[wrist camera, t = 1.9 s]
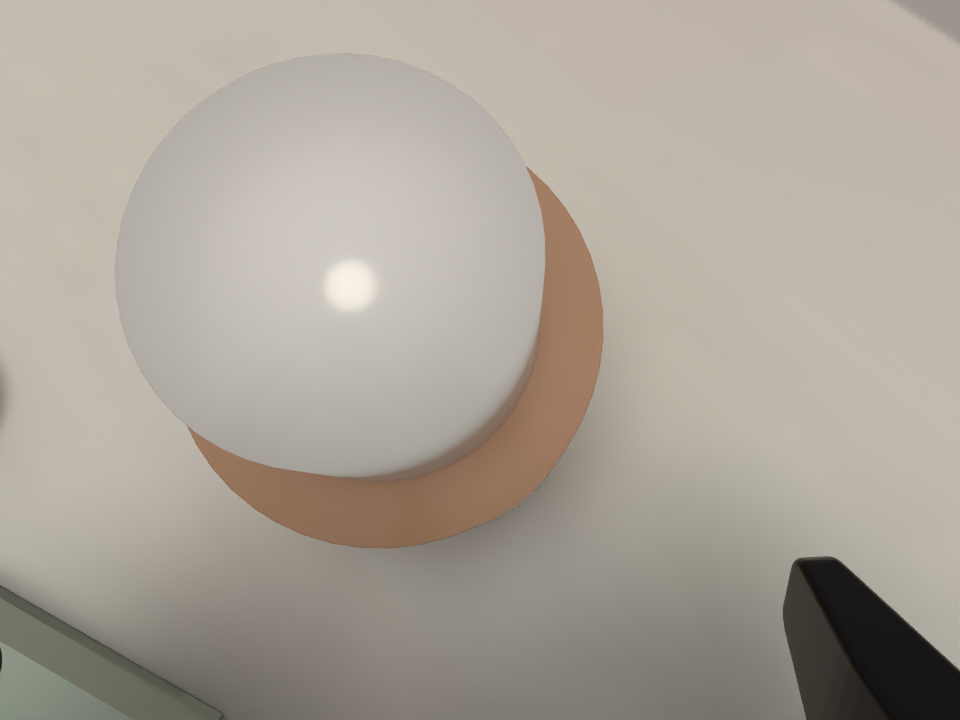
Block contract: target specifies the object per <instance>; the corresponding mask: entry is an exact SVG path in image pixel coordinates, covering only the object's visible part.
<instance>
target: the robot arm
mask: <svg viewBox="0 0 960 720" xmlns="http://www.w3.org/2000/svg"><path fill="white" fill-rule="evenodd" d="M783 621H784V628H785V632H786V636H787V641H788V645H789V649H790V653H791V657H792V661H793V665H794V670H795V674H796V678H797V682H798V686H799V690H800V694H801V699H802V703H803V707H804V711H805V715H806V719H807V720H960V670H959V669H958V668H957V667H955V666H954V665H953V664H952V663H951V662H950V661H949V660H948V659H947V658H946V657H945V656H943V655H942V654H941V653H940V652H939V651H938V650H937V649H936V648H935V647H934V646H933V645H931V644H930V643H929V642H928V641H927V640H926V639H925V638H924V637H923V636H922V635H921V634H919V633H918V632H917V631H916V630H915V629H914V628H913V627H912V626H911V625H910V624H909V623H907V622H906V621H905V620H904V619H903V618H902V617H901V616H900V615H899V614H898V613H897V612H895V611H894V610H893V609H892V608H891V607H890V606H889V605H888V604H887V603H886V602H885V601H883V600H882V599H881V598H880V597H879V596H878V595H877V594H876V593H875V592H874V591H873V590H871V589H870V588H869V587H868V586H867V585H866V584H865V583H864V582H863V581H862V580H861V579H859V578H858V577H857V576H856V575H855V574H854V573H853V572H852V571H851V570H850V569H848V568H847V567H846V566H845V565H844V564H843V563H842V562H841V561H839V560H838V559H836V558H833V557H828V556H824V557H805V558H798V559H797V560H795V561H794V563H793V565H792V567H791V572H790V577H789V581H788V586H787V591H786V596H785V600H784V605H783ZM1 668H2V651H1V647H0V672H1Z"/></svg>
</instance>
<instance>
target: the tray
mask: <svg viewBox="0 0 960 720" xmlns="http://www.w3.org/2000/svg"><path fill="white" fill-rule="evenodd" d="M0 647H1V651H2V668H1V672H0V720H220V718H221V716H222V713H220V712H218V711H216V710H215V709H213V708H211V707H209V706H208V705H206V704H204V703H203V702H201V701H199V700H197V699H196V698H194V697H192V696H190V695H189V694H187V693H185V692H183V691H182V690H180V689H178V688H177V687H175V686H173V685H171V684H170V683H168V682H166V681H164V680H163V679H161V678H159V677H157V676H156V675H154V674H152V673H150V672H149V671H147V670H145V669H144V668H142V667H140V666H138V665H137V664H135V663H133V662H131V661H130V660H128V659H126V658H124V657H123V656H121V655H119V654H117V653H116V652H114V651H112V650H111V649H109V648H107V647H105V646H104V645H102V644H100V643H98V642H97V641H95V640H93V639H91V638H90V637H88V636H86V635H85V634H83V633H81V632H79V631H78V630H76V629H74V628H72V627H71V626H69V625H67V624H65V623H64V622H62V621H60V620H58V619H57V618H55V617H53V616H52V615H50V614H48V613H46V612H45V611H43V610H41V609H39V608H38V607H36V606H34V605H32V604H31V603H29V602H27V601H25V600H24V599H22V598H20V597H19V596H17V595H15V594H13V593H12V592H10V591H8V590H6V589H5V588H3V587H1V586H0Z"/></svg>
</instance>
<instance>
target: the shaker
mask: <svg viewBox="0 0 960 720" xmlns="http://www.w3.org/2000/svg"><path fill="white" fill-rule="evenodd" d="M115 281H116V297H117V303H118V309H119V314H120V320H121V324H122V327H123V330H124V333H125V336H126V339H127V342H128V345H129V348H130V350H131V352H132V354H133V356H134V358H135V360H136V362H137V364H138V367H139V369H140V371H141V373H142V374H143V375H144V377H145V378H146V380H147V381H148V383H149V384H150V386H151V387H152V389H153V390H154V392H155V393H156V395H157V396H158V397H159V398H160V399H161V400H162V401H163V403H164V404H165V405H166V406H167V407H168V408H169V409H170V410H171V411H172V412H173V414H174V415H175V416H176V417H178V418H179V419H180V420H181V421H182V422H184V423H185V424H186V425H187V426H188V429H189V431H190V433H191V435H192V437H193V439H194V441H195V443H196V445H197V446H198V448H199V449H200V451H201V452H202V454H203V455H204V457H205V458H206V460H207V461H208V463H209V464H210V466H211V467H212V469H213V470H214V471H215V472H216V473H217V474H218V475H219V476H220V477H221V479H222V480H223V481H224V482H225V483H226V484H227V485H228V486H229V487H230V489H231V490H233V491H234V492H235V493H236V494H237V495H238V496H240V497H241V498H242V499H243V500H244V501H246V502H247V503H248V504H249V505H250V506H252V507H253V508H254V509H256V510H257V511H259V512H261V513H262V514H264V515H265V516H267V517H269V518H270V519H272V520H273V521H275V522H276V523H278V524H280V525H283V526H285V527H287V528H289V529H292V530H294V531H296V532H298V533H300V534H303V535H305V536H309V537H312V538H316V539H319V540H322V541H326V542H329V543H333V544H340V545H346V546H353V547H360V548H396V547H404V546H413V545H421V544H425V543H428V542H432V541H436V540H440V539H444V538H448V537H451V536H453V535H456V534H458V533H461V532H463V531H466V530H468V529H471V528H473V527H476V526H478V525H481V524H483V523H486V522H488V521H491V520H493V519H495V518H498V517H500V516H502V515H504V514H506V513H507V512H509V511H511V510H513V509H514V508H516V507H517V506H518V505H520V504H521V503H522V502H523V501H525V500H526V499H527V498H528V497H529V496H530V495H531V494H532V493H533V492H534V491H535V490H536V489H537V488H538V487H539V486H540V484H541V483H542V482H543V480H544V479H545V478H546V476H547V475H548V474H549V472H550V471H551V469H552V468H553V466H554V465H555V464H556V462H557V461H558V459H559V458H560V456H561V455H562V454H563V452H564V451H565V449H566V448H567V446H568V445H569V443H570V441H571V439H572V438H573V436H574V434H575V432H576V431H577V429H578V427H579V425H580V424H581V422H582V419H583V417H584V414H585V412H586V410H587V407H588V405H589V402H590V400H591V397H592V395H593V391H594V387H595V383H596V379H597V375H598V372H599V368H600V361H601V352H602V344H603V309H602V302H601V295H600V289H599V282H598V279H597V275H596V272H595V269H594V265H593V262H592V259H591V255H590V253H589V251H588V248H587V246H586V244H585V242H584V240H583V237H582V235H581V233H580V231H579V229H578V227H577V226H576V224H575V223H574V221H573V219H572V218H571V216H570V214H569V213H568V211H567V210H566V208H565V207H564V205H563V204H562V203H561V202H560V200H559V199H558V198H557V197H556V196H555V194H554V193H553V192H552V191H551V190H550V188H549V187H548V186H547V185H546V184H545V183H544V182H543V181H542V180H541V179H539V178H538V177H537V176H536V175H535V174H534V173H533V172H532V171H531V170H530V169H529V168H528V167H526V166H525V164H524V161H523V159H522V158H521V156H520V154H519V153H518V151H517V150H516V148H515V146H514V145H513V143H512V141H511V140H510V138H509V137H508V136H507V134H506V133H505V132H504V131H503V129H502V128H501V127H500V126H499V125H498V123H497V122H496V121H495V120H494V119H493V117H492V116H491V115H490V114H489V113H487V112H486V111H485V110H484V109H483V108H482V107H481V106H480V105H479V104H478V103H477V102H476V101H474V100H473V99H472V98H471V97H469V96H468V95H467V94H465V93H464V92H462V91H461V90H459V89H458V88H457V87H455V86H454V85H452V84H451V83H449V82H447V81H445V80H443V79H441V78H439V77H437V76H436V75H434V74H432V73H430V72H428V71H425V70H423V69H420V68H417V67H415V66H412V65H409V64H406V63H404V62H400V61H396V60H391V59H387V58H383V57H378V56H371V55H361V54H351V53H343V54H319V55H312V56H305V57H298V58H293V59H290V60H286V61H282V62H278V63H275V64H271V65H268V66H266V67H263V68H261V69H258V70H256V71H253V72H251V73H248V74H246V75H243V76H242V77H240V78H238V79H236V80H234V81H232V82H231V83H229V84H227V85H225V86H223V87H221V88H220V89H218V90H217V91H216V92H214V93H213V94H211V95H210V96H209V97H207V98H206V99H204V100H203V101H201V102H200V103H199V104H197V105H196V106H195V107H194V108H193V109H192V110H191V111H190V112H189V113H188V114H186V115H185V116H184V117H183V118H182V119H181V120H180V121H179V122H178V123H177V124H176V125H175V126H174V127H173V128H172V130H171V131H170V132H169V133H168V134H167V135H166V136H165V138H164V139H163V140H162V141H161V142H160V144H159V145H158V147H157V148H156V150H155V151H154V152H153V154H152V155H151V157H150V158H149V160H148V161H147V163H146V164H145V166H144V168H143V170H142V172H141V174H140V176H139V178H138V180H137V182H136V184H135V186H134V187H133V190H132V192H131V195H130V198H129V201H128V203H127V206H126V209H125V212H124V214H123V219H122V223H121V227H120V232H119V236H118V241H117V251H116V262H115Z"/></svg>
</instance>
